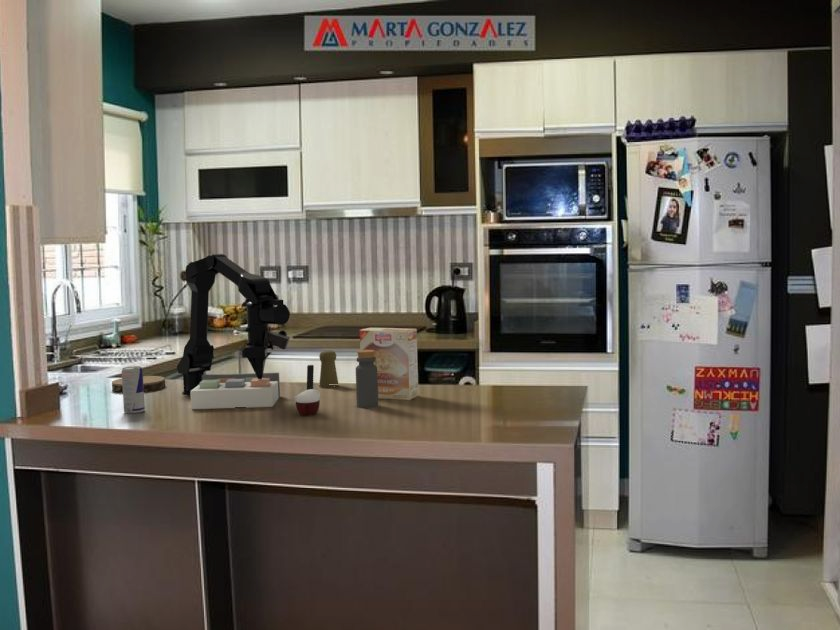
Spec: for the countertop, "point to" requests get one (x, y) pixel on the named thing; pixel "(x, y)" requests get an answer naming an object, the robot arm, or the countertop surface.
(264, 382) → the terracotta key
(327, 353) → the cork
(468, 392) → the countertop surface
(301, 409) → the rounded body with stick
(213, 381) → the sage key
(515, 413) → the countertop surface
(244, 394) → the keypad housing
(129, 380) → the energy drink
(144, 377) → the wood slice
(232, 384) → the slate key
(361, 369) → the bottle
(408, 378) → the coffeecake box
